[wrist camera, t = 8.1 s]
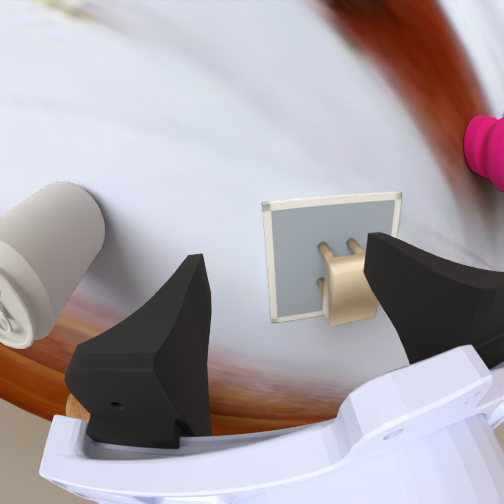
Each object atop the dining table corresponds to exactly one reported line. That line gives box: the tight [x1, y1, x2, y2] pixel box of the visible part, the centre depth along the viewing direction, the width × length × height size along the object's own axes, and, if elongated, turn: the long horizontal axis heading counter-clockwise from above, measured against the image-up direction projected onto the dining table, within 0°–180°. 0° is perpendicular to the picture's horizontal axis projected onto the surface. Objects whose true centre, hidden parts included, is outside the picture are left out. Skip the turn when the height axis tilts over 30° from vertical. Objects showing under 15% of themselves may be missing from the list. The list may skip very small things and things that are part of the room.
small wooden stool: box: [316, 238, 379, 327], centre depth 22 cm, size 5×4×5 cm
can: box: [0, 182, 105, 349], centre depth 15 cm, size 8×8×12 cm
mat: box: [262, 191, 402, 323], centre depth 25 cm, size 12×12×1 cm
